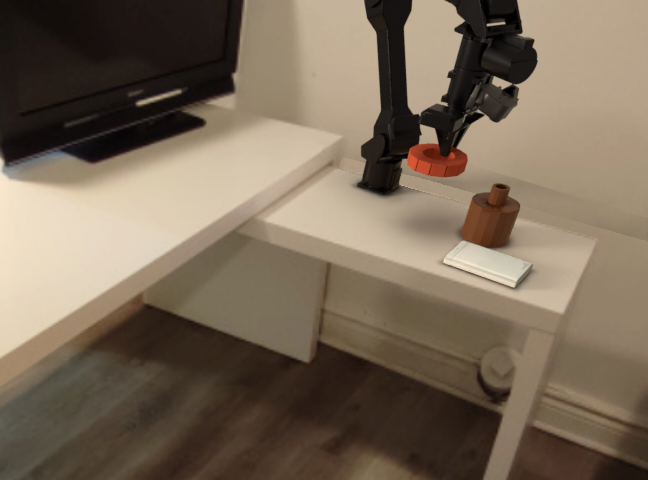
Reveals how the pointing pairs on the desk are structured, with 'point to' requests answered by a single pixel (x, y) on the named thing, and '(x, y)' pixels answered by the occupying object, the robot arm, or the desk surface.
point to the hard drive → (488, 263)
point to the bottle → (491, 217)
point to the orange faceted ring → (436, 161)
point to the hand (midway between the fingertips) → (447, 154)
